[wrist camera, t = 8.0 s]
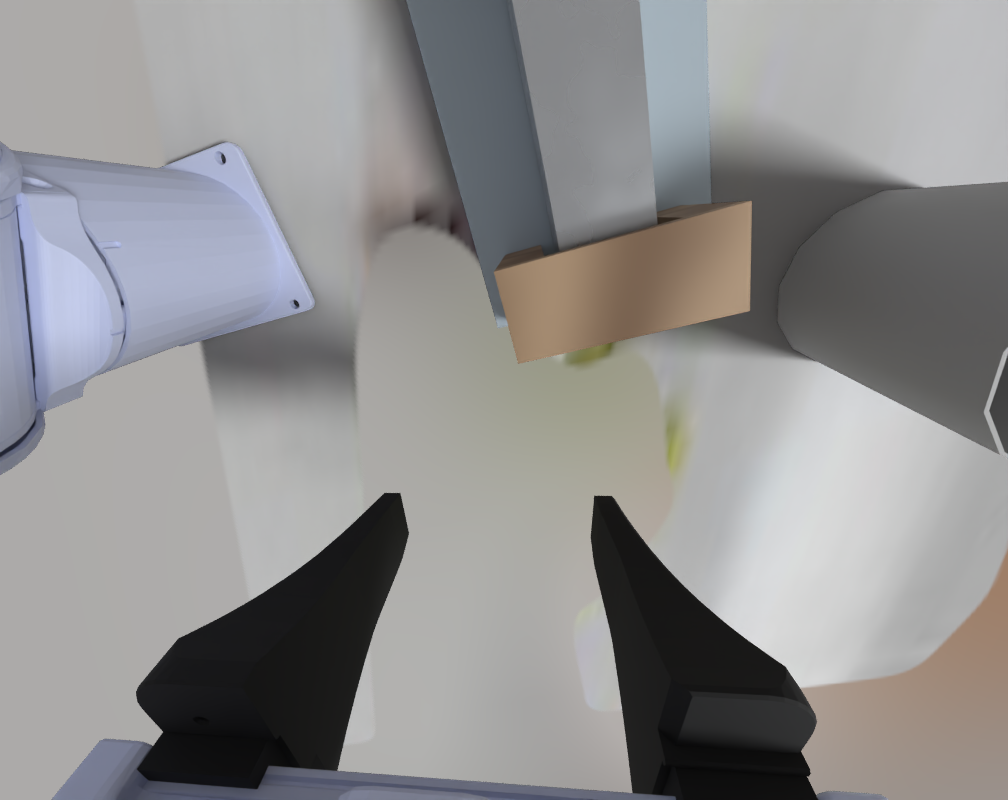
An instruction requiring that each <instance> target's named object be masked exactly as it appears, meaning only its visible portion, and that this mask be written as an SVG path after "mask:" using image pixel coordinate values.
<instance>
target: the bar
mask: <svg viewBox="0 0 1008 800" xmlns="http://www.w3.org/2000/svg"><path fill="white" fill-rule="evenodd" d="M506 2H507V8H508V13H509V18H510V23H511V28H512V33H513V38H514V43H515V49H516V54H517V59H518V64H519V69H520V74H521V79H522V85H523V90H524V95H525V100H526V105H527V110H528V115H529V121H530V126H531V131H532V136H533V141H534V146H535V151H536V156H537V162H538V167H539V172H540V177H541V182H542V187H543V192H544V198H545V203H546V208H547V213H548V218H549V223H550V228H551V234H552V239H553V244H554V249H555V253H557V252H561V251H564V250H568V249H572V248H575V247H579V246H582V245H586V244H590V243H593V242H597V241H601V240H604V239H608V238H611V237H615V236H619V235H622V234H626V233H629V232H633V231H637V230H640V229H644V228H648V227H651V226H655V225H658V223H657V211H656V198H655V186H654V173H653V161H652V149H651V136H650V124H649V111H648V99H647V87H646V74H645V62H644V50H643V37H642V25H641V12H640V0H506Z"/></svg>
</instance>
